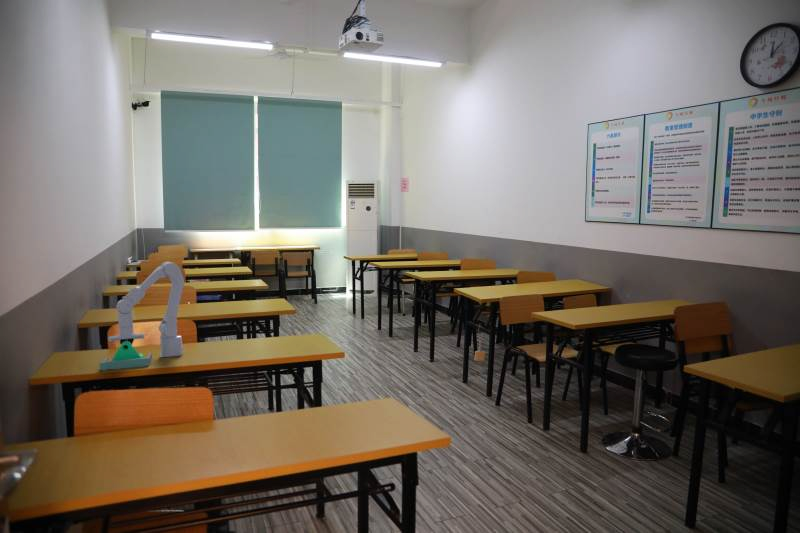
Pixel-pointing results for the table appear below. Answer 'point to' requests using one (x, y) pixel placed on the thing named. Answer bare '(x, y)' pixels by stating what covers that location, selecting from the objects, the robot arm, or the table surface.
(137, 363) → the dock
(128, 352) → the camera mount
